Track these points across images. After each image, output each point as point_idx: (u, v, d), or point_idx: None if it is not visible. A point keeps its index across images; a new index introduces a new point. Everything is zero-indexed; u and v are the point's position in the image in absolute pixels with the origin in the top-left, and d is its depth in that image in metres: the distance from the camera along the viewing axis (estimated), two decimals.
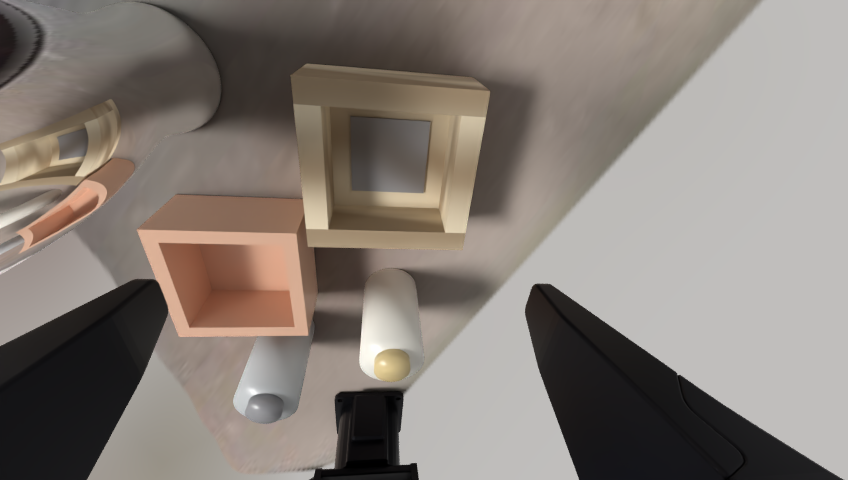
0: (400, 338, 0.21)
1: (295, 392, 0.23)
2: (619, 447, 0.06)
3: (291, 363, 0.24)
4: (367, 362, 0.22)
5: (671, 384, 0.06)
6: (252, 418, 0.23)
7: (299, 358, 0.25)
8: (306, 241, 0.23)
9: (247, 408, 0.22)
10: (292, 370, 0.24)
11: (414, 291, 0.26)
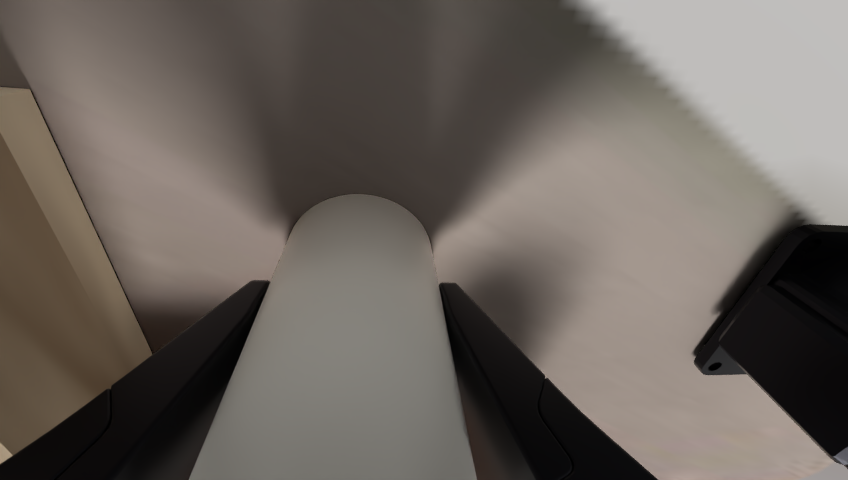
0: None
1: None
2: (484, 454, 0.06)
3: None
4: None
5: (532, 388, 0.06)
6: None
7: None
8: None
9: None
10: None
11: (309, 234, 0.08)
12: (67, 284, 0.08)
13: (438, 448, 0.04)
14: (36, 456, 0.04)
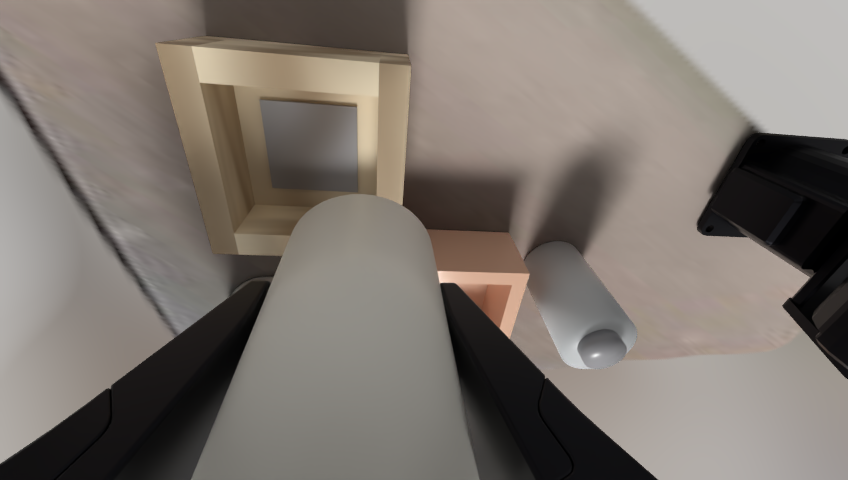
0: None
1: (594, 314, 0.18)
2: (483, 454, 0.06)
3: (563, 298, 0.20)
4: None
5: (532, 388, 0.06)
6: (608, 364, 0.19)
7: (566, 286, 0.20)
8: None
9: (587, 365, 0.19)
10: (571, 302, 0.19)
11: (310, 234, 0.08)
12: None
13: (441, 449, 0.04)
14: (36, 456, 0.04)
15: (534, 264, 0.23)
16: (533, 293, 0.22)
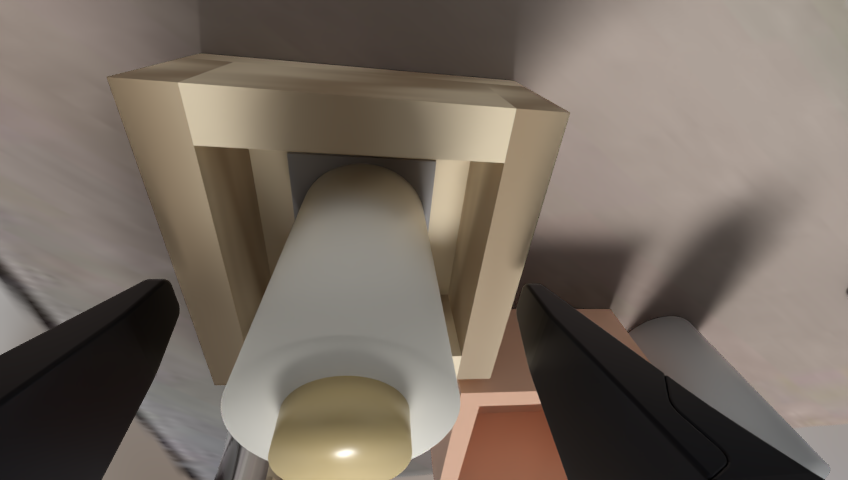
0: (221, 403, 0.06)
1: None
2: (606, 448, 0.06)
3: None
4: None
5: (657, 384, 0.06)
6: None
7: (712, 397, 0.14)
8: None
9: None
10: None
11: (322, 192, 0.10)
12: None
13: (422, 321, 0.06)
14: None
15: (644, 351, 0.17)
16: None
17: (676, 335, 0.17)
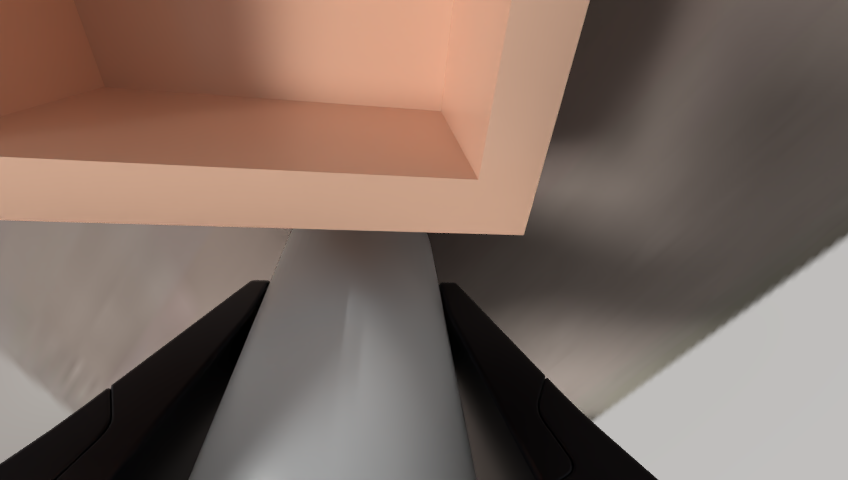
0: None
1: None
2: (483, 454, 0.06)
3: (432, 366, 0.05)
4: None
5: (532, 388, 0.06)
6: None
7: (443, 347, 0.06)
8: None
9: None
10: (446, 401, 0.05)
11: None
12: None
13: None
14: (36, 456, 0.04)
15: None
16: (335, 250, 0.07)
17: (434, 268, 0.09)
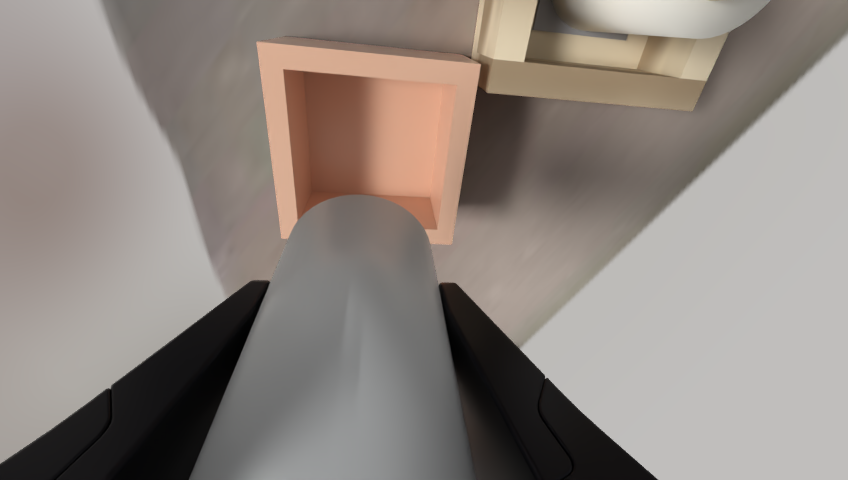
0: None
1: None
2: (483, 454, 0.06)
3: (432, 368, 0.05)
4: None
5: (532, 388, 0.06)
6: None
7: (444, 348, 0.06)
8: None
9: None
10: (446, 402, 0.05)
11: None
12: None
13: None
14: (36, 456, 0.04)
15: (398, 228, 0.08)
16: (335, 251, 0.07)
17: (434, 269, 0.09)
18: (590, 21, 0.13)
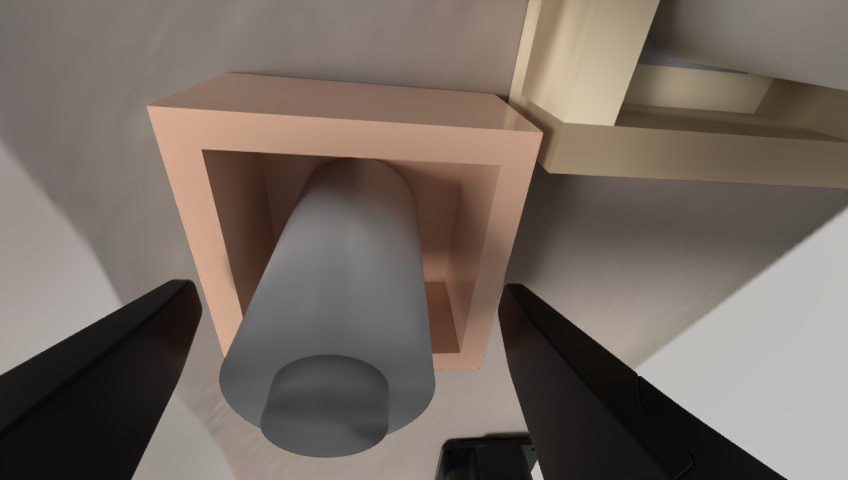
0: None
1: (431, 356, 0.07)
2: (579, 449, 0.06)
3: (405, 270, 0.08)
4: None
5: (630, 385, 0.06)
6: (285, 441, 0.07)
7: (416, 264, 0.09)
8: None
9: (271, 407, 0.06)
10: (413, 291, 0.08)
11: None
12: None
13: None
14: None
15: (389, 183, 0.11)
16: (339, 194, 0.09)
17: (417, 219, 0.11)
18: (730, 57, 0.08)
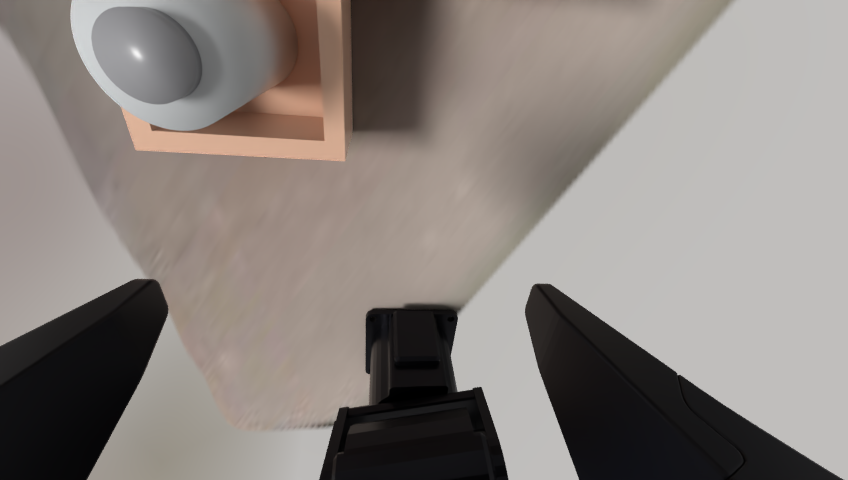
0: None
1: (232, 37, 0.10)
2: (619, 447, 0.06)
3: (234, 2, 0.11)
4: None
5: (671, 384, 0.06)
6: (114, 73, 0.09)
7: (254, 18, 0.11)
8: None
9: (97, 24, 0.09)
10: (234, 10, 0.10)
11: None
12: None
13: None
14: None
15: None
16: None
17: (288, 34, 0.14)
18: None
